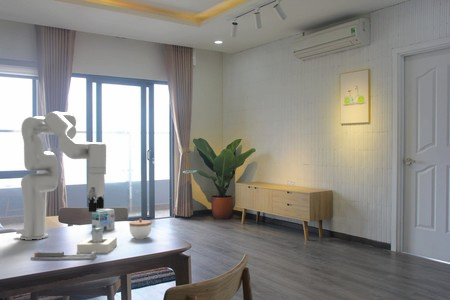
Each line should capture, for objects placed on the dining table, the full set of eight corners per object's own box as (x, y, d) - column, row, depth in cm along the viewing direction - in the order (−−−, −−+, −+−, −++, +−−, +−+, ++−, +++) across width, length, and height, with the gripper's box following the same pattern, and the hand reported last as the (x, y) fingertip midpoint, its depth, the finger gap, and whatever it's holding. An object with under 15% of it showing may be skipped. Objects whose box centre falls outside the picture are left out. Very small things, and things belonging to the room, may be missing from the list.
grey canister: (90, 250, 174) (90, 229, 174) (94, 247, 178) (94, 227, 178) (100, 250, 174) (100, 229, 174) (104, 247, 178) (103, 227, 178)
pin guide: (30, 259, 159) (30, 253, 159) (35, 257, 163) (35, 251, 163) (93, 259, 159) (92, 253, 159) (96, 256, 163) (96, 250, 163)
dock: (77, 252, 170) (77, 244, 170) (88, 245, 183) (88, 237, 183) (107, 252, 170) (107, 244, 170) (116, 245, 182) (116, 237, 182)
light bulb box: (99, 231, 213) (99, 211, 213) (91, 230, 216) (91, 210, 216) (115, 228, 222) (115, 208, 222) (106, 227, 226) (106, 208, 226)
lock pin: (34, 259, 160) (34, 253, 160) (36, 257, 162) (36, 251, 162) (61, 258, 160) (61, 252, 160) (63, 257, 162) (63, 251, 162)
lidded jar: (124, 239, 195) (124, 219, 195) (137, 234, 205) (137, 216, 205) (143, 241, 191) (143, 221, 191) (155, 236, 201) (155, 217, 201)
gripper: (95, 169, 185) (94, 206, 185) (81, 172, 167) (80, 213, 168) (111, 169, 185) (110, 207, 185) (99, 172, 167) (98, 213, 168)
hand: (96, 209), depth 176 cm, fingers open, 9 cm apart
